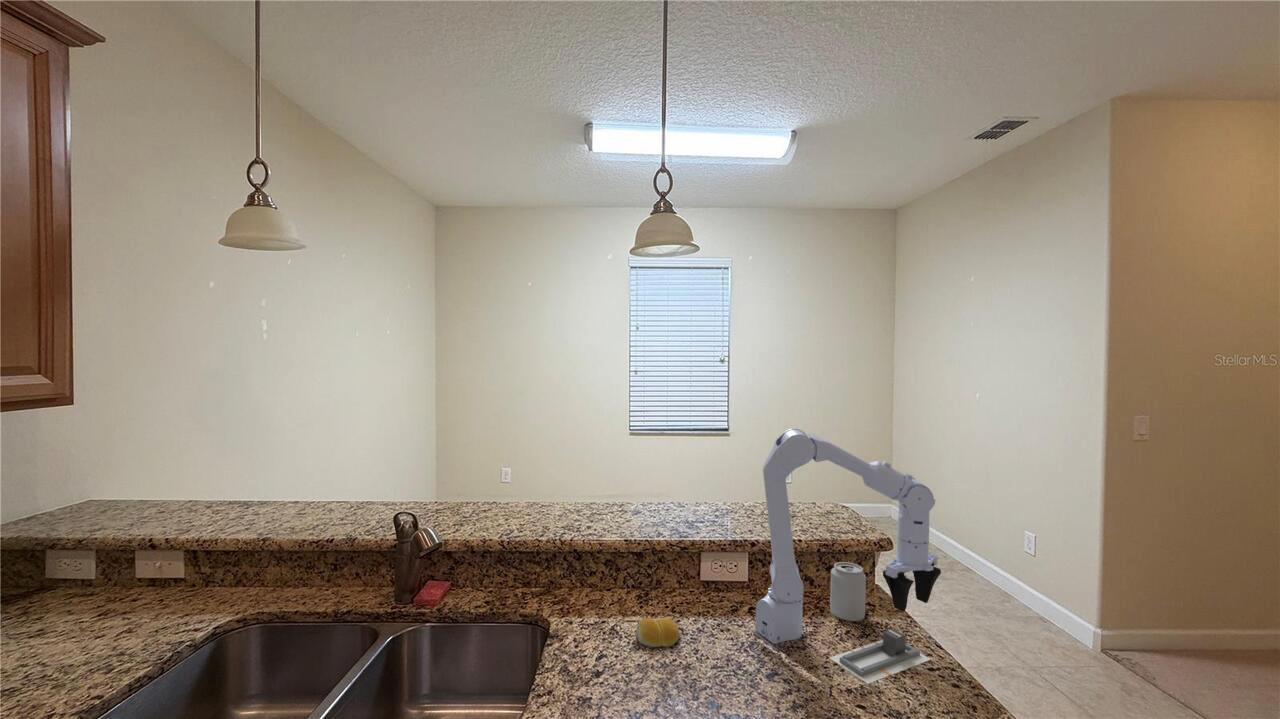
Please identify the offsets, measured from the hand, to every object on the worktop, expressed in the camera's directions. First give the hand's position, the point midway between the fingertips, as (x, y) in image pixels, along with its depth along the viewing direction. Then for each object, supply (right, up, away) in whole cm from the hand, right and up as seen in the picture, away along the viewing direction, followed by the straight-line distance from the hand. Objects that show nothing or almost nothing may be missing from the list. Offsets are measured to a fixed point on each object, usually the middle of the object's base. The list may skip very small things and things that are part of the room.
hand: (911, 604), depth 110 cm
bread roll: (-52, -9, +3) cm, 53 cm away
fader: (-5, -8, -3) cm, 10 cm away
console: (-9, -9, -5) cm, 14 cm away
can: (-8, -9, +13) cm, 18 cm away
